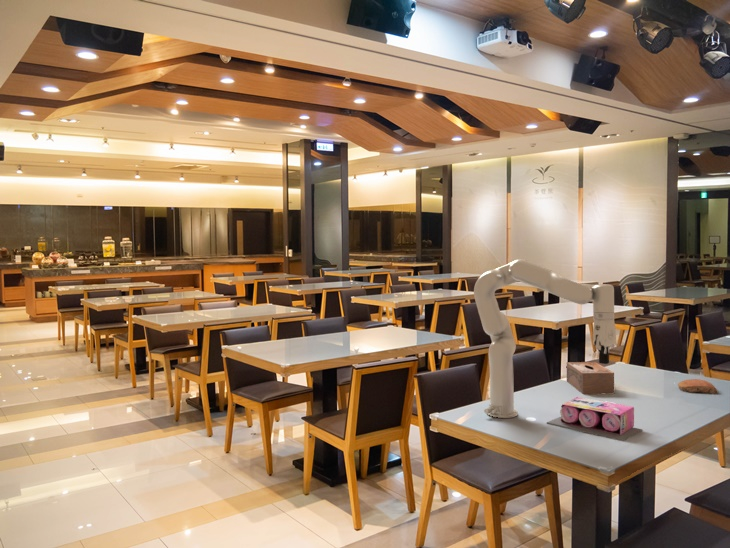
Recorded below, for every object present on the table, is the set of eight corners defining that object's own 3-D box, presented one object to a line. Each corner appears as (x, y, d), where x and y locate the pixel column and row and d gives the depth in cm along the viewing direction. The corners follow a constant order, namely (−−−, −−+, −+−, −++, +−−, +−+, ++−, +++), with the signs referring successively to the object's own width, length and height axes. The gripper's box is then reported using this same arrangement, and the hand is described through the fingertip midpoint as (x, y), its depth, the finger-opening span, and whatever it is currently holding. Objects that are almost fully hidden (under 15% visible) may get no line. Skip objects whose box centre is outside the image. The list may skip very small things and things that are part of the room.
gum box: (573, 415, 240) (557, 422, 230) (573, 395, 240) (557, 402, 230) (634, 427, 223) (620, 435, 214) (634, 406, 223) (620, 414, 213)
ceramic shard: (673, 375, 287) (706, 380, 284) (671, 388, 287) (704, 393, 284) (684, 377, 273) (719, 383, 270) (682, 391, 272) (717, 397, 270)
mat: (623, 440, 209) (623, 439, 209) (546, 423, 232) (546, 422, 231) (642, 430, 220) (642, 429, 220) (567, 415, 242) (567, 413, 242)
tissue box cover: (566, 381, 301) (566, 362, 301) (595, 381, 300) (595, 362, 300) (582, 394, 275) (582, 373, 275) (614, 394, 274) (614, 372, 274)
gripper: (603, 318, 221) (604, 367, 222) (622, 315, 231) (622, 361, 232) (584, 317, 227) (585, 364, 228) (603, 313, 237) (603, 359, 238)
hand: (604, 363), depth 230 cm, fingers closed
